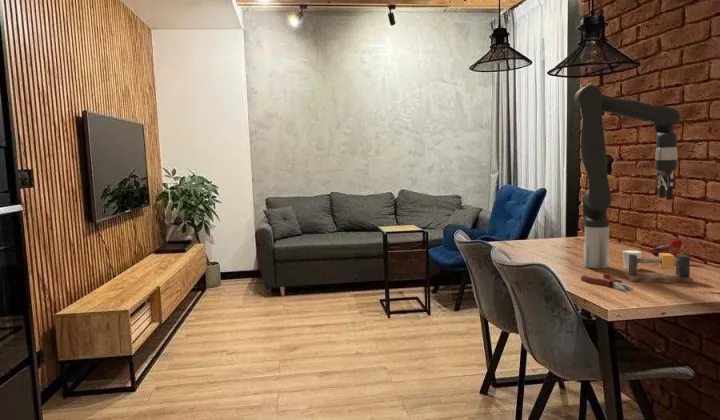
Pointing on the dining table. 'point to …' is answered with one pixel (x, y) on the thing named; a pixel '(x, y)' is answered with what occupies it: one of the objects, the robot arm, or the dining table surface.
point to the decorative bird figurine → (667, 248)
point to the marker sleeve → (666, 261)
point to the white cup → (626, 257)
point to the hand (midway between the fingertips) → (665, 198)
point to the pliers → (607, 282)
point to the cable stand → (680, 275)
